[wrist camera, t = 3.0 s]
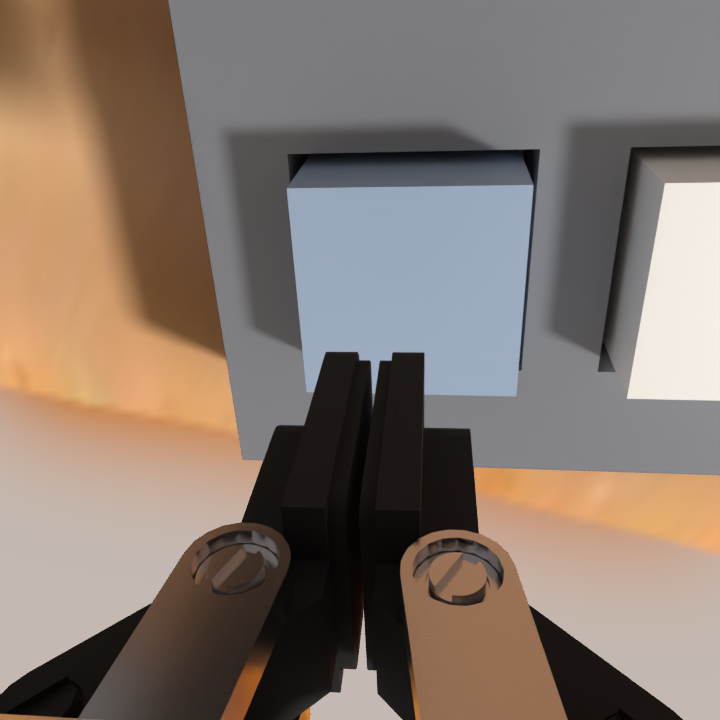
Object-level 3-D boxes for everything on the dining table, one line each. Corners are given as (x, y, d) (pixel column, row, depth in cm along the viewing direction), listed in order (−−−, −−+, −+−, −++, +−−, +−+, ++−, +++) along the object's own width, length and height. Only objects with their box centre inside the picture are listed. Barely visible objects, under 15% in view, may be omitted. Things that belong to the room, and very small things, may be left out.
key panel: (227, -9, 18) (167, -2, 14) (1322, -61, 15) (1619, -69, 11) (275, 379, 24) (242, 459, 20) (1069, 394, 21) (1208, 491, 17)
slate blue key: (310, 153, 17) (286, 188, 14) (519, 149, 16) (533, 185, 14) (325, 334, 19) (306, 392, 17) (506, 336, 19) (515, 396, 16)
